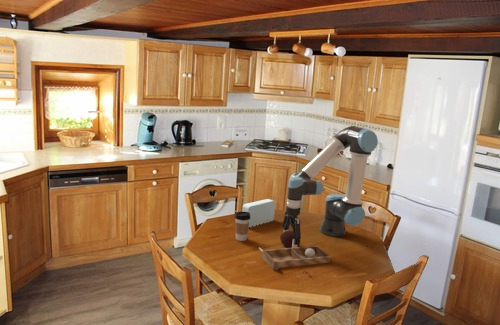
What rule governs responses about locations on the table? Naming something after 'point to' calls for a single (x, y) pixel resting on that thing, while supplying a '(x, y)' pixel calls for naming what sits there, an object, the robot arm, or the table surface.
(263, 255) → the divided wooden tray
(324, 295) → the table surface
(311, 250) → the ball
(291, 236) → the dark brown ovoid
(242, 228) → the coffee cup
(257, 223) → the white rounded block
